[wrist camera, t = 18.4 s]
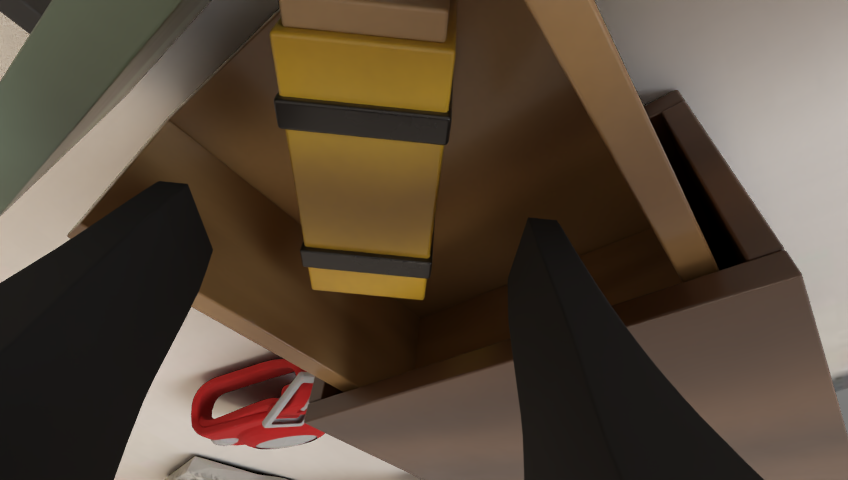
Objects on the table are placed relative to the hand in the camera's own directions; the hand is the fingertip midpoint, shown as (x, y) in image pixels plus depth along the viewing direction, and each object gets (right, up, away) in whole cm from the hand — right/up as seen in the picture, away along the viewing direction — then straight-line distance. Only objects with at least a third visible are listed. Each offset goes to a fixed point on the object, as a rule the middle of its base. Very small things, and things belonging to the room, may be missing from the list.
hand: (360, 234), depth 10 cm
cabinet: (+8, -3, +12) cm, 15 cm away
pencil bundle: (0, +3, +3) cm, 5 cm away
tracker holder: (-7, -10, +20) cm, 24 cm away
